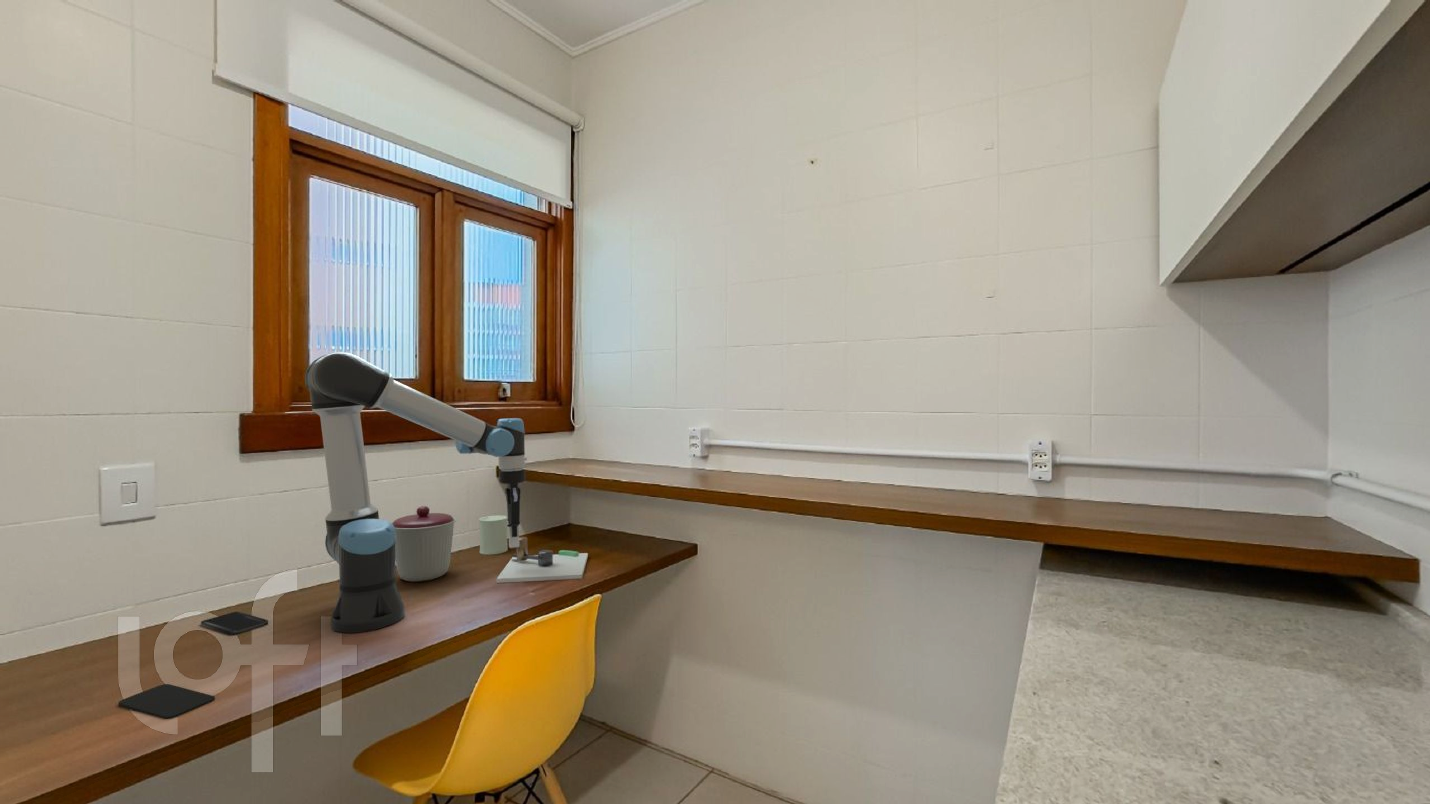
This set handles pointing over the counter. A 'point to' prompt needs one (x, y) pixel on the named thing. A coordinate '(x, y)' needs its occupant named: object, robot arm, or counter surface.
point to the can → (493, 535)
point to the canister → (423, 544)
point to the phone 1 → (166, 701)
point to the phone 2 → (234, 623)
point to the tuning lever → (543, 556)
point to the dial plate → (545, 568)
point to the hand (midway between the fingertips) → (514, 546)
